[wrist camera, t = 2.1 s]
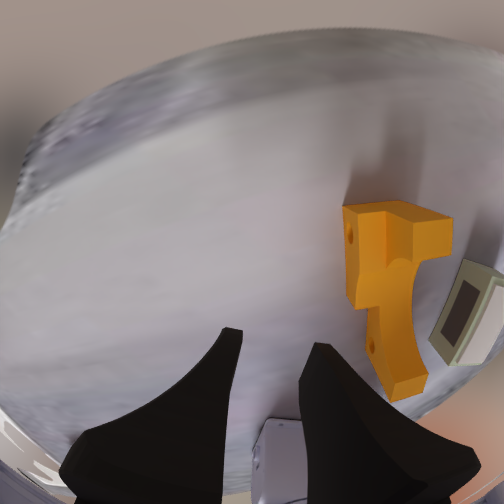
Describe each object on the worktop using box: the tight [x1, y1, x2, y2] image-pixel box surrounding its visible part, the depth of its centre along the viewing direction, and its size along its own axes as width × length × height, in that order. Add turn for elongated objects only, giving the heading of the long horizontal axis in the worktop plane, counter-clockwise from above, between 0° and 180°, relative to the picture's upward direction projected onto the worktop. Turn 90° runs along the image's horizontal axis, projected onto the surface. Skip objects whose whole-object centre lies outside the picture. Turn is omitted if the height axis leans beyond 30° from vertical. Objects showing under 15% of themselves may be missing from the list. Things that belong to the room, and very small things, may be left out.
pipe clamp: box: [342, 200, 453, 403], centre depth 16 cm, size 12×4×6 cm, turn 8°
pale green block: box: [428, 258, 504, 366], centre depth 17 cm, size 5×8×4 cm, turn 168°
